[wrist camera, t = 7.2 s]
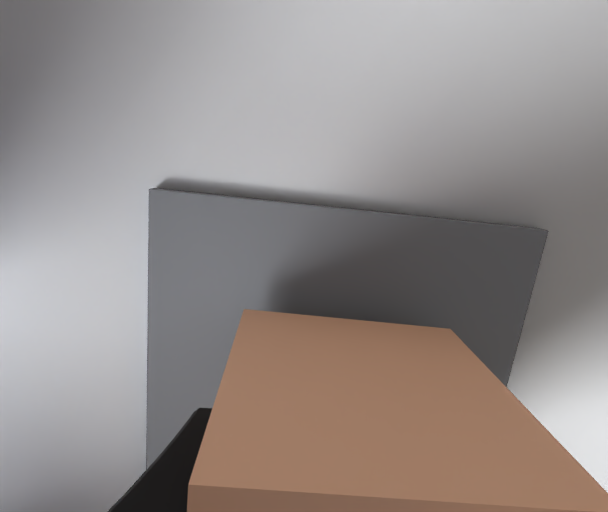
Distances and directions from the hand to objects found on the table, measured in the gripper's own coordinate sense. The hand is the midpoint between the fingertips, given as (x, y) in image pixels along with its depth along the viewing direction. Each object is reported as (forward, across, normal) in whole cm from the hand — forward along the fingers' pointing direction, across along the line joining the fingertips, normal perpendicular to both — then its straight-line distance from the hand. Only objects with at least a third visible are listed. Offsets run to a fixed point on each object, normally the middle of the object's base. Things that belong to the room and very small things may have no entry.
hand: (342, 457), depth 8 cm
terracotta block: (+2, 0, 0) cm, 2 cm away
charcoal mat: (+3, 0, 0) cm, 3 cm away
